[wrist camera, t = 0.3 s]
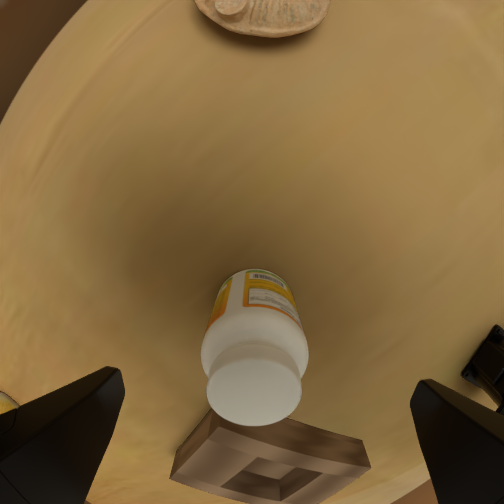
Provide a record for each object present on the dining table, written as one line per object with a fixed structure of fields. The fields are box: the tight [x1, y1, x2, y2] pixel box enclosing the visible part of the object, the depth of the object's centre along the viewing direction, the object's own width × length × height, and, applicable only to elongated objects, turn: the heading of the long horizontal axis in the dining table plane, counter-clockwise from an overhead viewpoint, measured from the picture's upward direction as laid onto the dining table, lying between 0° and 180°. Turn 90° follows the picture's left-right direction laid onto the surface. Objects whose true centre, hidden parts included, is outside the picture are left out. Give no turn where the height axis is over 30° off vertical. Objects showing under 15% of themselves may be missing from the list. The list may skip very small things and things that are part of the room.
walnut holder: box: [169, 408, 371, 504], centre depth 23 cm, size 16×11×4 cm
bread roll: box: [0, 392, 19, 414], centre depth 24 cm, size 8×9×4 cm
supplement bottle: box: [201, 269, 309, 426], centre depth 16 cm, size 5×5×10 cm
